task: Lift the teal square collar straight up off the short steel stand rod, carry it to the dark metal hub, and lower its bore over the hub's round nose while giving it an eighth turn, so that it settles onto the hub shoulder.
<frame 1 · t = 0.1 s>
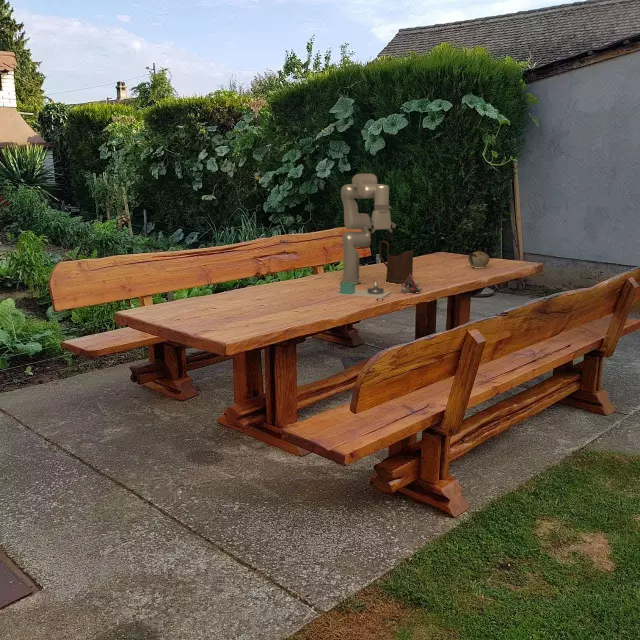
hand: (380, 240, 367), 31 cm above the table, tool pointing down, fingers open, 9 cm apart
collar: (347, 293, 374), point 1 cm above the table, touching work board
stand rod: (347, 295, 375), resting on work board
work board: (363, 295, 375), on the table
brown pitcher: (395, 282, 420), on the table
brake caliper: (410, 293, 384), on the table
sugar bowl: (478, 268, 480), on the table
hub: (375, 295, 376), resting on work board
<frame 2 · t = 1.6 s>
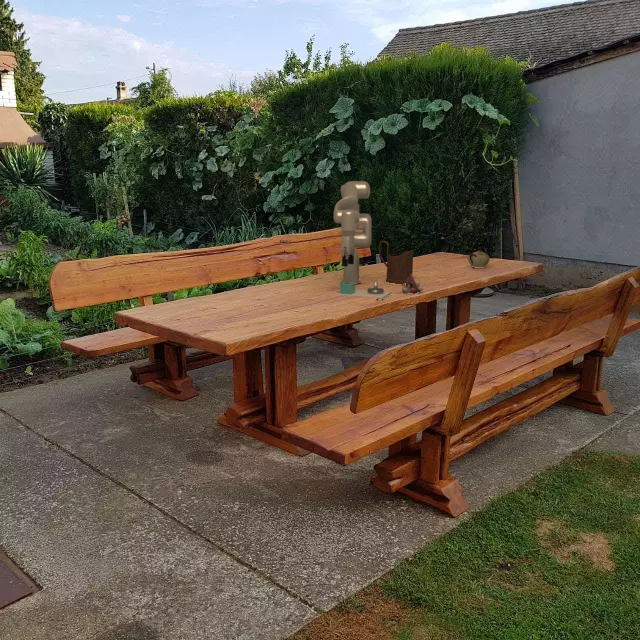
hand: (347, 265, 371), 17 cm above the table, tool pointing down, fingers open, 9 cm apart
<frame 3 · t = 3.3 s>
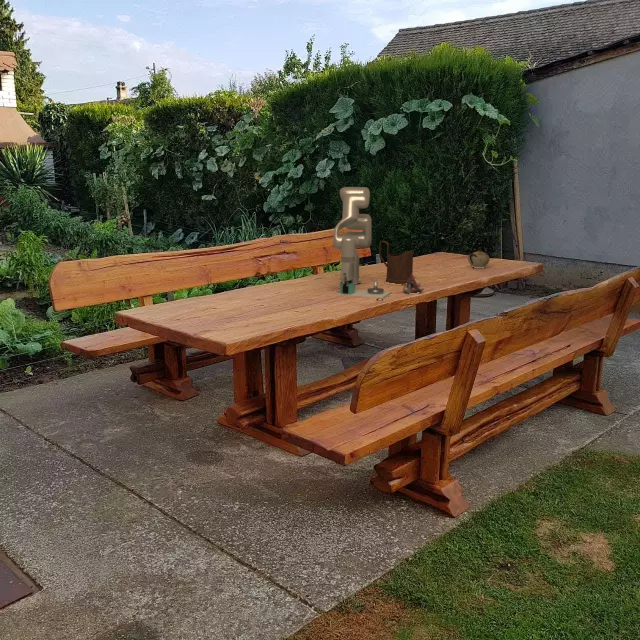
hand: (347, 291, 374), 2 cm above the table, tool pointing down, fingers closed on collar, 6 cm apart
collar: (347, 293, 374), point 1 cm above the table, touching gripper, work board
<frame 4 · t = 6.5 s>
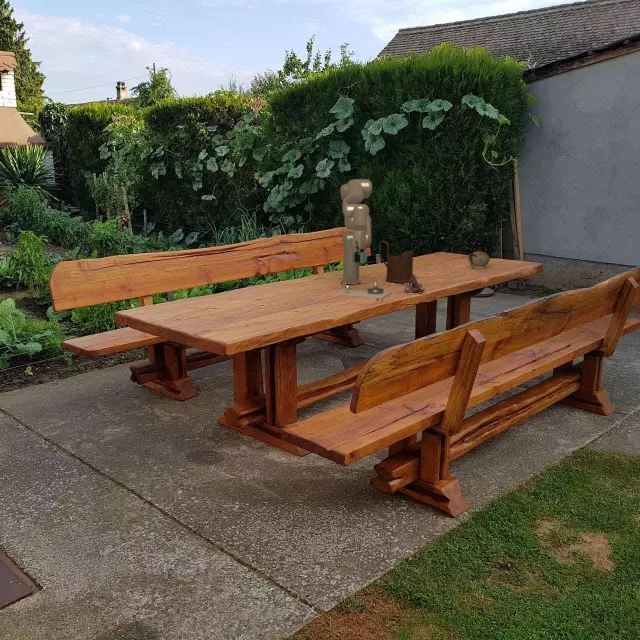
hand: (359, 260, 371), 19 cm above the table, tool pointing down, fingers closed on collar, 6 cm apart
collar: (359, 262, 371), point 19 cm above the table, touching gripper
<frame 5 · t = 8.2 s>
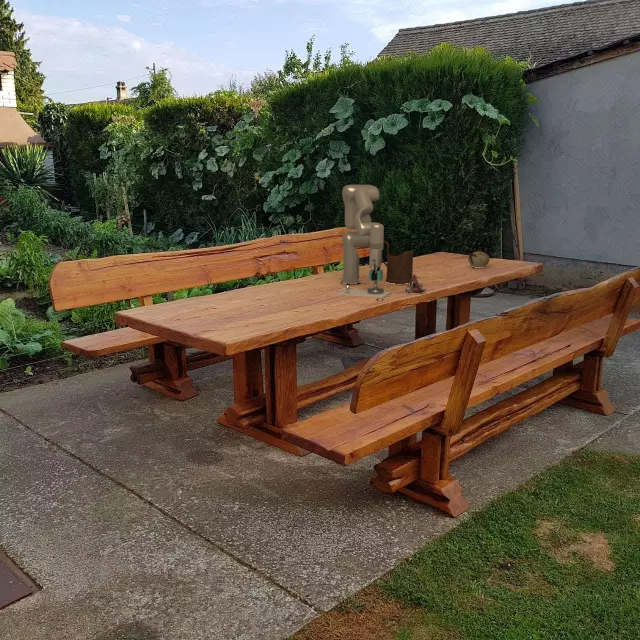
hand: (375, 278, 374), 9 cm above the table, tool pointing down, fingers closed on collar, 6 cm apart
collar: (375, 280, 374), point 9 cm above the table, touching gripper
when the fingers open (5 cm above the table, at t = 9.5 s): collar stays where it is, resting on hub.
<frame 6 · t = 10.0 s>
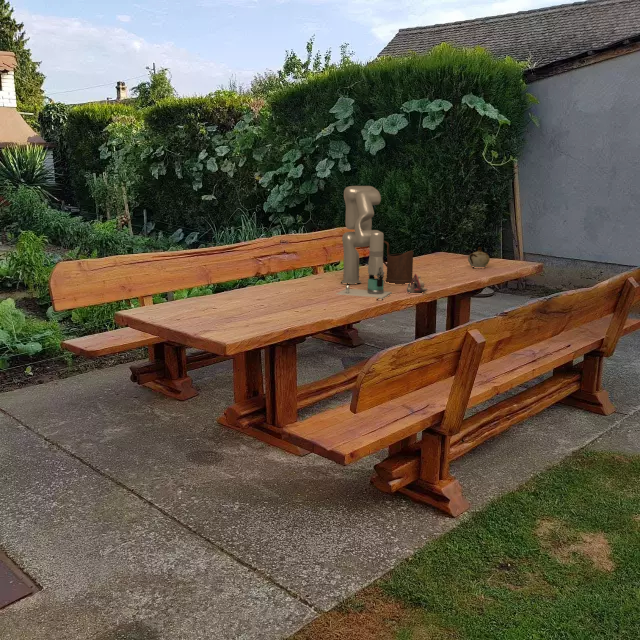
hand: (375, 285, 375), 6 cm above the table, tool pointing down, fingers open, 9 cm apart
collar: (375, 289, 375), point 3 cm above the table, touching hub
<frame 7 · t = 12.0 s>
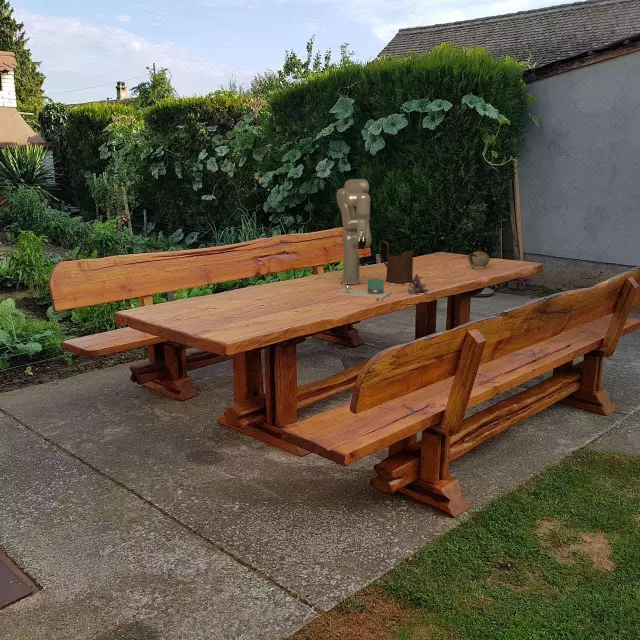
hand: (362, 247, 381), 25 cm above the table, tool pointing down, fingers open, 9 cm apart
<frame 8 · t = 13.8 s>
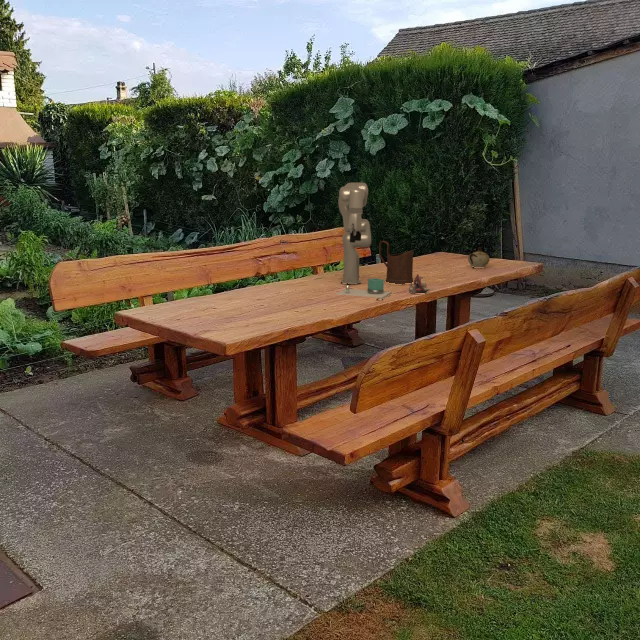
hand: (355, 241, 386), 28 cm above the table, tool pointing down, fingers open, 9 cm apart
at the end: collar 0.1 cm off-centre on the hub, point 3.5 cm above the hub's base; collar tilted 0°; the gripper is holding nothing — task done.
